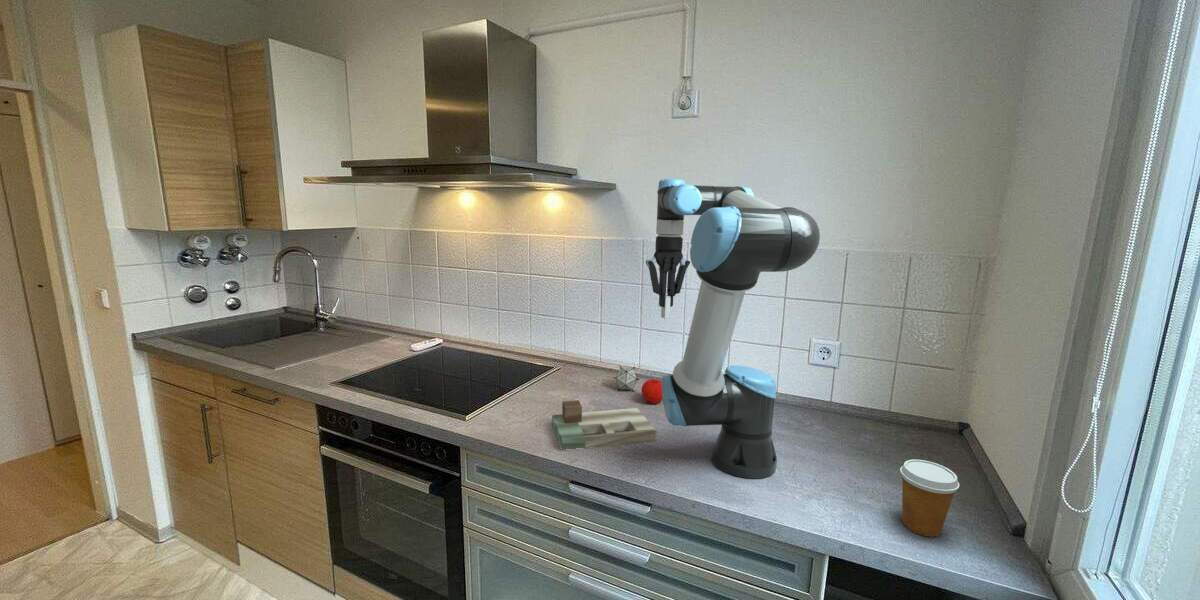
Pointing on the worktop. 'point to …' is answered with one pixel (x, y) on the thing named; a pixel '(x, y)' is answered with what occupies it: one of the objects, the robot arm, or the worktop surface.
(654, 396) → the apple
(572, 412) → the block
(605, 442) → the shape sorter board
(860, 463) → the worktop surface
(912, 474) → the disposable coffee cup
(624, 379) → the game die
